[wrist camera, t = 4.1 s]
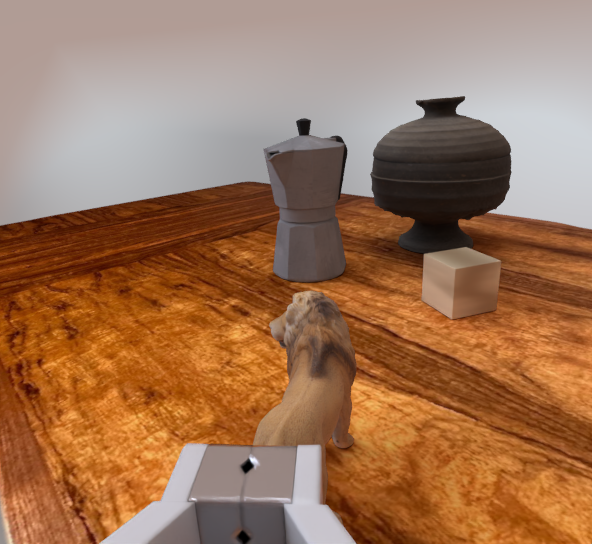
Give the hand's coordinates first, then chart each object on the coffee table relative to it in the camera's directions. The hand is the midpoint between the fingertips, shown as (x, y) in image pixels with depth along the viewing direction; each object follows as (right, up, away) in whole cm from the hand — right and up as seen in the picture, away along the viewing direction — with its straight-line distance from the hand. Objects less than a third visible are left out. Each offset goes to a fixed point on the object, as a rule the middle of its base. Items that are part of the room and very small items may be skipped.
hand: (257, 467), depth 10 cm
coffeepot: (+3, +5, +48) cm, 49 cm away
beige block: (+17, +1, +35) cm, 39 cm away
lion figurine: (+1, -7, +15) cm, 17 cm away
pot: (+20, +8, +55) cm, 59 cm away
